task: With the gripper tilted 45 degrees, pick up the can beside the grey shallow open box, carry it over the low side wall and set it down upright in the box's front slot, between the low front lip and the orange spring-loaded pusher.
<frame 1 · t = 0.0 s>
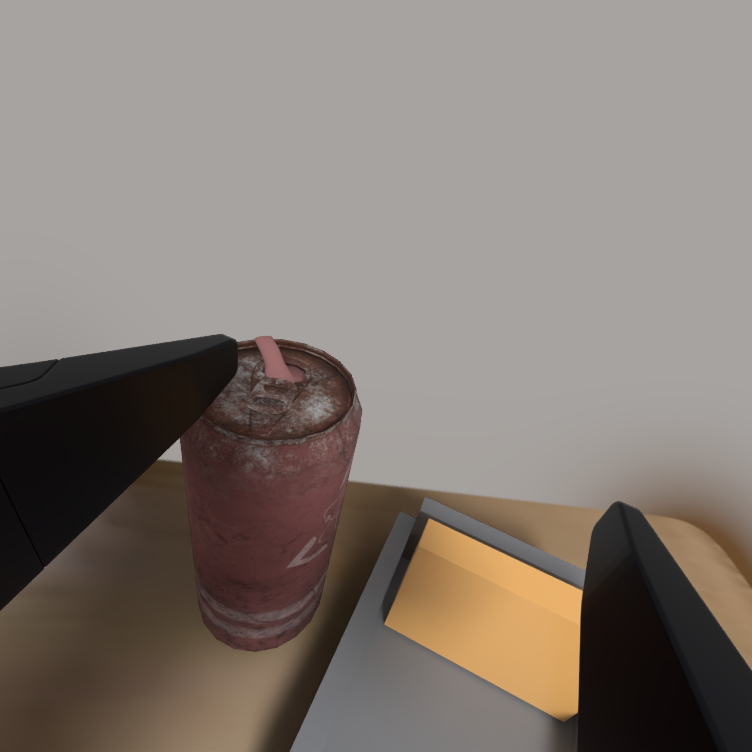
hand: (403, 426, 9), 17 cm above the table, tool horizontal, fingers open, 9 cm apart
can: (261, 590, 22), on the table
pusher: (499, 612, 19), point 4 cm above the table, slide at 0.0 cm
grey shallow open box: (454, 723, 19), on the table
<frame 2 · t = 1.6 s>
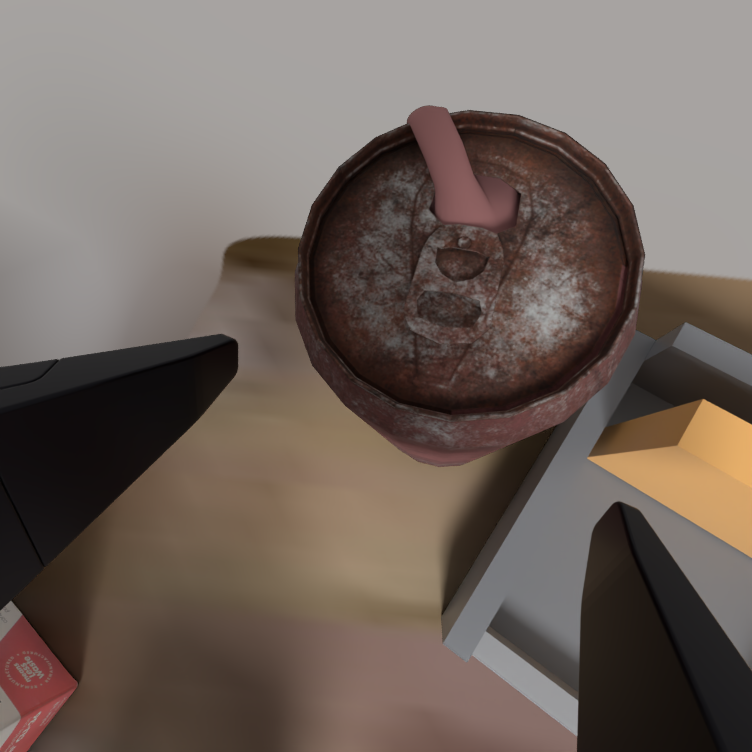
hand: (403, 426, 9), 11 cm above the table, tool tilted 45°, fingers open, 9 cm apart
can: (441, 399, 20), on the table
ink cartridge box: (0, 656, 20), on the table
grey shallow open box: (656, 561, 17), on the table
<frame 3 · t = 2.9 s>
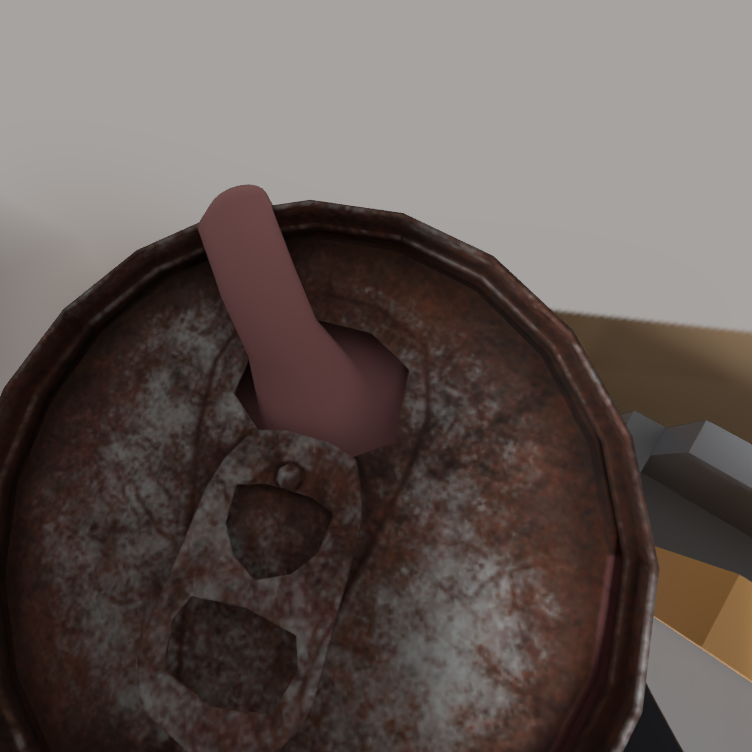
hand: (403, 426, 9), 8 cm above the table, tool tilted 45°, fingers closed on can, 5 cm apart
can: (403, 479, 17), on the table, touching gripper
grey shallow open box: (665, 698, 14), on the table
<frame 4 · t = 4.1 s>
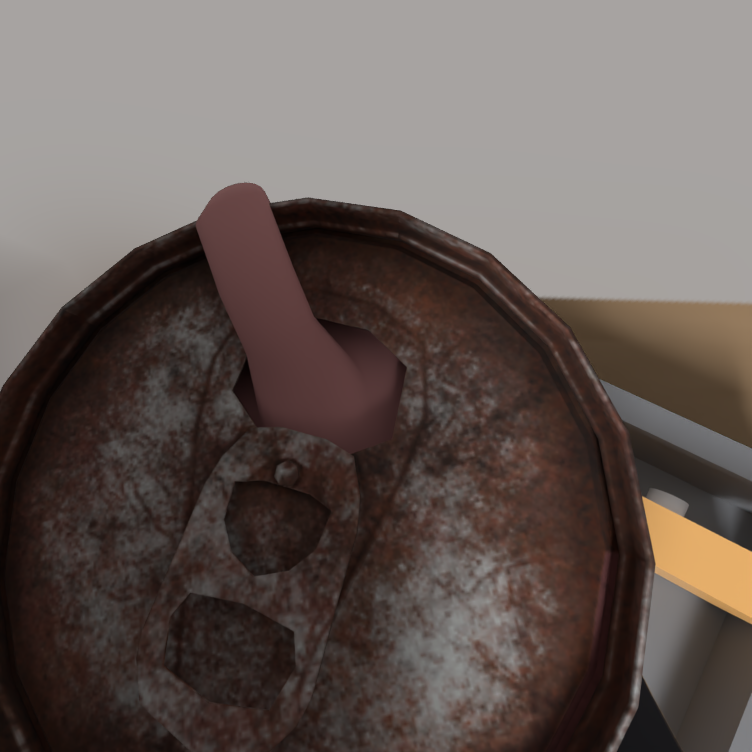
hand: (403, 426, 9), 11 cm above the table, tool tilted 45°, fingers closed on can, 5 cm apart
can: (403, 478, 17), point 3 cm above the table, touching gripper
pusher: (658, 530, 14), point 4 cm above the table, slide at 0.0 cm
grey shallow open box: (578, 584, 18), on the table
when the fingers open (9 cm above the table, at t = 5.8 s): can stays where it is, resting on grey shallow open box.
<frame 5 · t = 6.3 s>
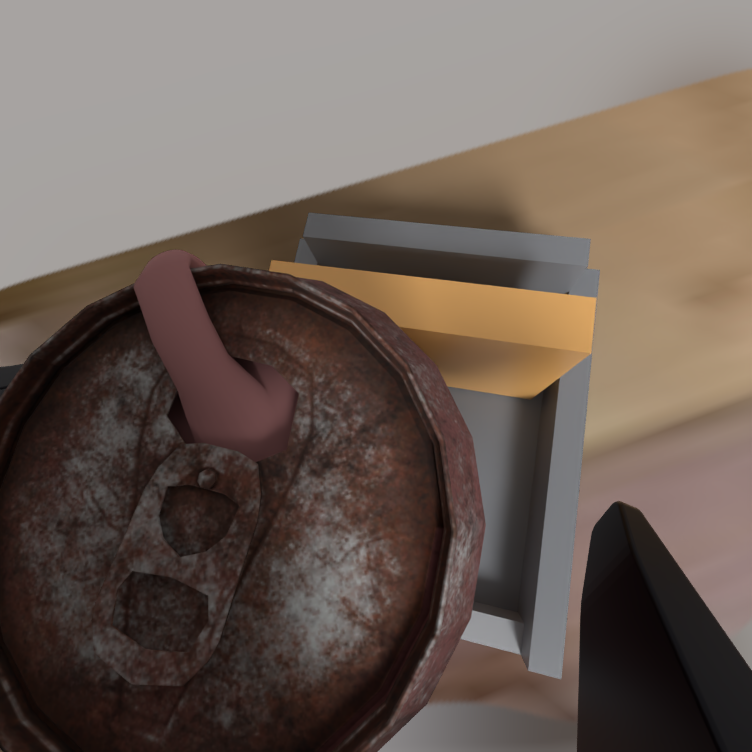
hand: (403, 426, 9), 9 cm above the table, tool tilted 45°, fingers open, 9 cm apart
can: (374, 477, 18), resting on grey shallow open box
pusher: (424, 328, 15), point 4 cm above the table, slide at 0.1 cm
grey shallow open box: (414, 432, 18), on the table
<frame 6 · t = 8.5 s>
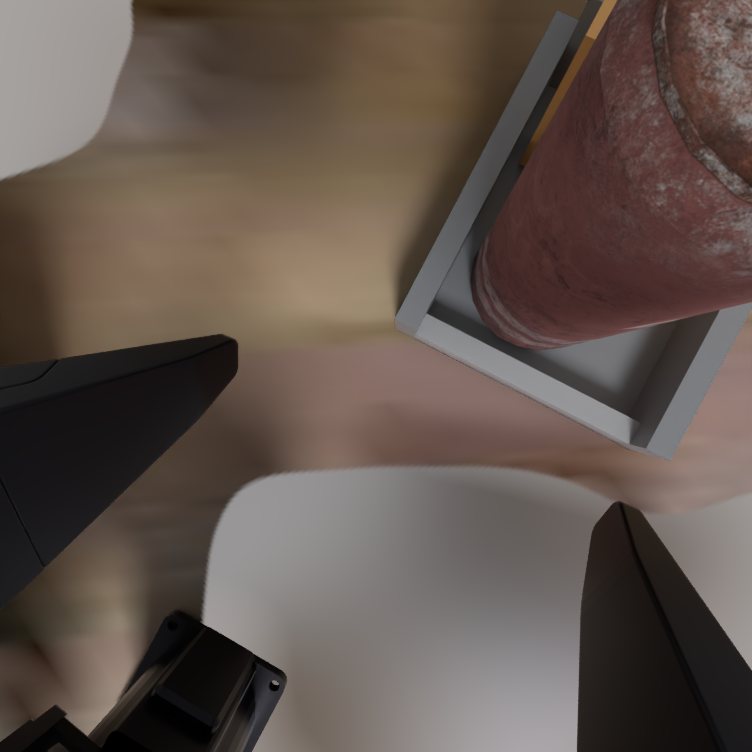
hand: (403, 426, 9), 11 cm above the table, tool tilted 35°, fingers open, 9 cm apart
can: (534, 282, 19), resting on grey shallow open box
pusher: (673, 135, 15), point 4 cm above the table, slide at 0.1 cm
grey shallow open box: (580, 254, 20), on the table
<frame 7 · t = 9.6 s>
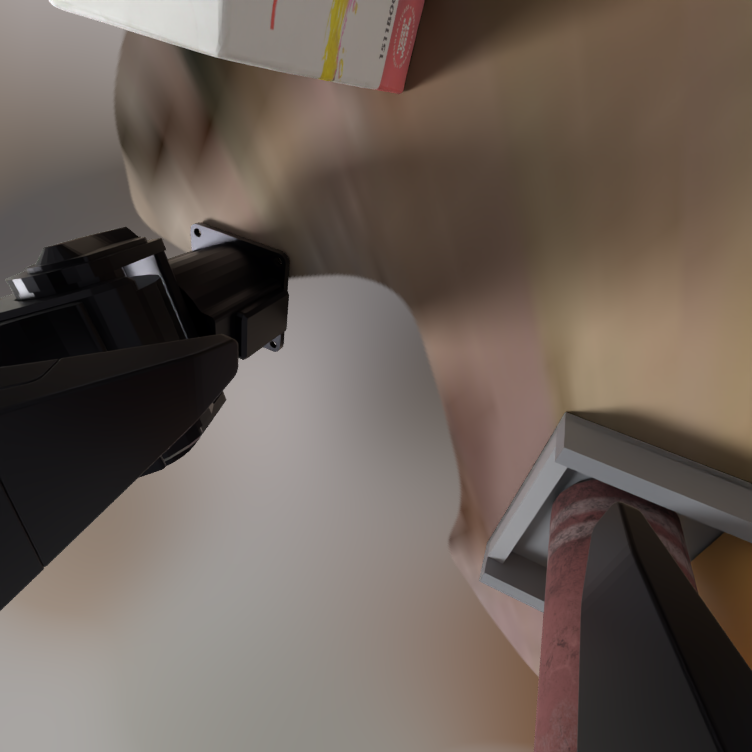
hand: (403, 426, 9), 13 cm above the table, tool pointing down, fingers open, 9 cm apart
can: (614, 512, 23), resting on grey shallow open box
pusher: (727, 642, 20), point 4 cm above the table, slide at 0.1 cm
grey shallow open box: (641, 538, 24), on the table
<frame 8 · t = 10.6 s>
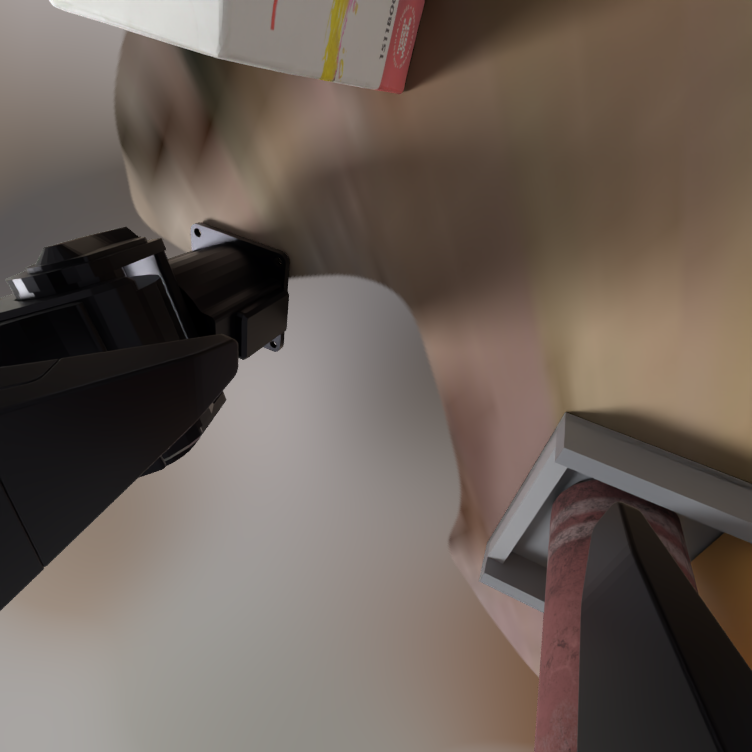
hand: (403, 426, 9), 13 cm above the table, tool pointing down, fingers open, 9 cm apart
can: (614, 512, 23), resting on grey shallow open box
pusher: (727, 643, 20), point 4 cm above the table, slide at 0.1 cm
grey shallow open box: (641, 538, 24), on the table
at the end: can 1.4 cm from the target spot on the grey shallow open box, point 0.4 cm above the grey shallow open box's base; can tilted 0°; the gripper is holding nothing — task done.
